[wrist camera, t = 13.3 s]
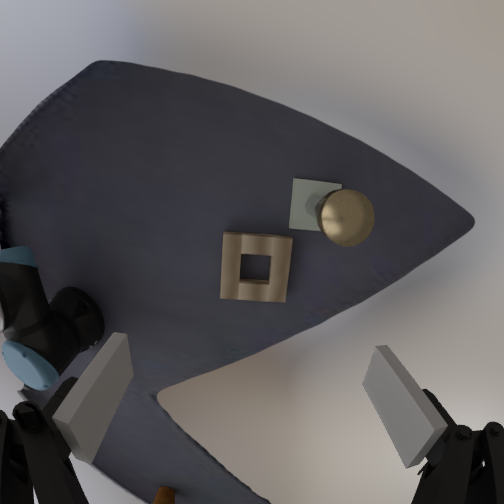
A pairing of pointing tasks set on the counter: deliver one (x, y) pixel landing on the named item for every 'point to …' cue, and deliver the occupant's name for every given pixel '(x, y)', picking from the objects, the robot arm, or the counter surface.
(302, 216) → the rubber mat
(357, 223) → the steel peg
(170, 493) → the orange pill bottle
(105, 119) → the counter surface
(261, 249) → the plate
